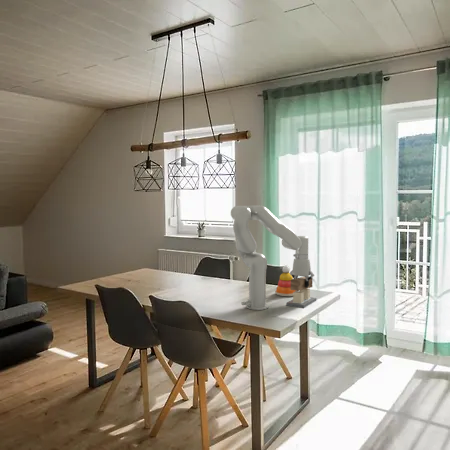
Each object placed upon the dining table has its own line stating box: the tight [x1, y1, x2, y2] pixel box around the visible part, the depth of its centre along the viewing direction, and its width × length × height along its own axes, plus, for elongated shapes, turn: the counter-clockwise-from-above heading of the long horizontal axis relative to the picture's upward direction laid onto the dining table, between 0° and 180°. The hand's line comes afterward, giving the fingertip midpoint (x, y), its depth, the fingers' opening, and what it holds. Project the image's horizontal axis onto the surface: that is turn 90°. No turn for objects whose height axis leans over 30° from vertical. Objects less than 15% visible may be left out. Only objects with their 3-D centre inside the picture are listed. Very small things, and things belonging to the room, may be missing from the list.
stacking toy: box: [274, 264, 295, 297], centre depth 279 cm, size 14×14×20 cm
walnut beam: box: [291, 276, 313, 291], centre depth 258 cm, size 15×5×6 cm, turn 134°
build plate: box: [286, 288, 317, 309], centre depth 259 cm, size 20×11×8 cm, turn 148°
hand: (301, 286), depth 258 cm, fingers closed on walnut beam, 5 cm apart
